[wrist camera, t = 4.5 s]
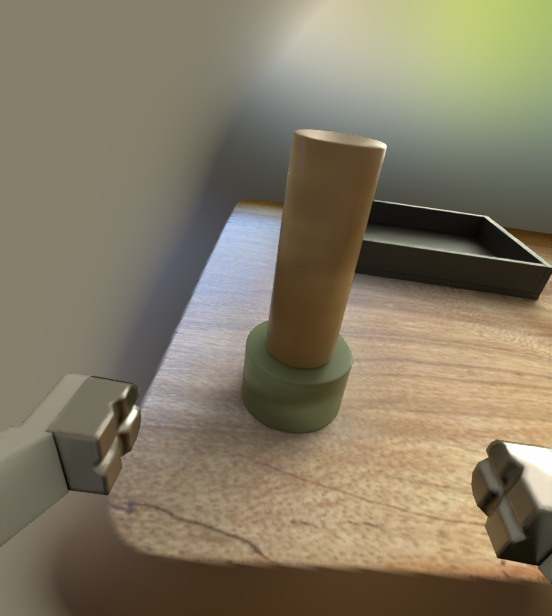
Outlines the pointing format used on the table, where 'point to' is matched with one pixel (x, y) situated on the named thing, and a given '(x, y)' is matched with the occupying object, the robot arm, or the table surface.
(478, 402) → the table surface
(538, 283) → the pan
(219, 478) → the table surface
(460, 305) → the table surface
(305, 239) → the tan cylinder
